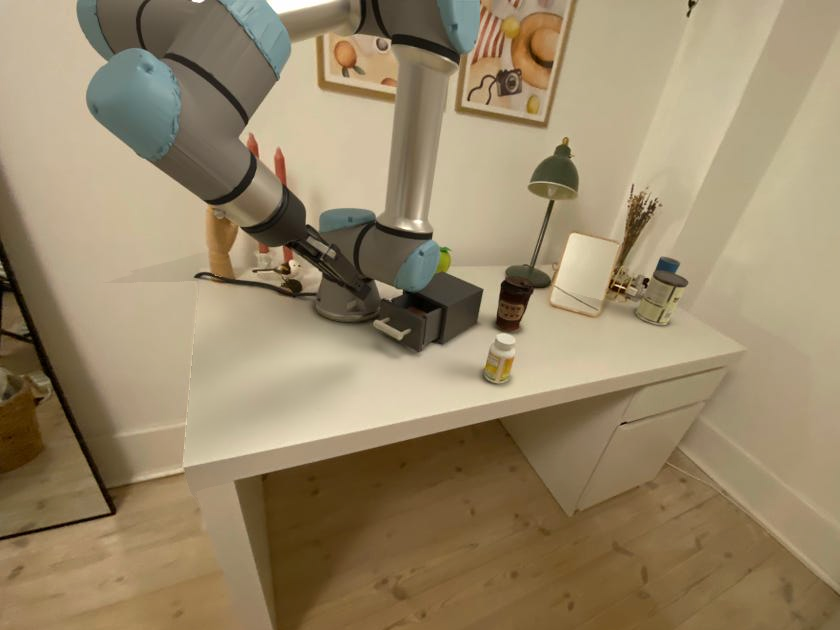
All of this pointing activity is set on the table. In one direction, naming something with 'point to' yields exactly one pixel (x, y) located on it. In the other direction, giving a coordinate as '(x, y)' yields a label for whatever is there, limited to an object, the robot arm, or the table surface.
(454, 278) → the cabinet
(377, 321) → the drawer
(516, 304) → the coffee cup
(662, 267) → the cup
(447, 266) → the fruit
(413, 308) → the block
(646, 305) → the coffee can
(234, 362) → the table surface
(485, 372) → the supplement bottle
